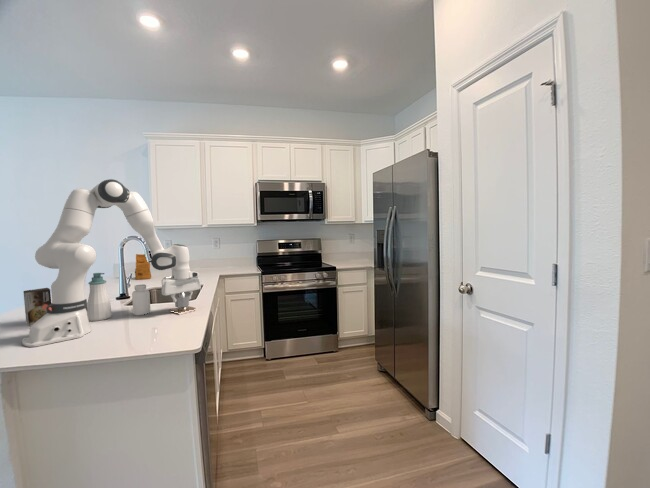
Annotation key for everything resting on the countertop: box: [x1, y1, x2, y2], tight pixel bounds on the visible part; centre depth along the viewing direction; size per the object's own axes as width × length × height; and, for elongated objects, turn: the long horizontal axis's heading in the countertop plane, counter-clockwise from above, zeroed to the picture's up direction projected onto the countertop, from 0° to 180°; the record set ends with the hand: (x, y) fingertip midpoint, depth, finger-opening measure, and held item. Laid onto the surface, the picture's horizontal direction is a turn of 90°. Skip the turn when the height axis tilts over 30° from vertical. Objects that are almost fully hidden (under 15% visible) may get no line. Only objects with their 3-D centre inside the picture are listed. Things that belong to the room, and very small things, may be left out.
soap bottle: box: [87, 272, 112, 322], centre depth 158 cm, size 10×10×23 cm
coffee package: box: [134, 253, 152, 281], centre depth 280 cm, size 10×12×22 cm
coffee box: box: [23, 287, 52, 327], centre depth 153 cm, size 9×6×16 cm
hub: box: [174, 294, 190, 308], centre depth 169 cm, size 6×6×5 cm
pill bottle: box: [131, 284, 151, 316], centre depth 166 cm, size 8×8×15 cm
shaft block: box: [169, 292, 196, 313], centre depth 169 cm, size 9×9×10 cm
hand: (182, 300), depth 169 cm, fingers closed on hub, 6 cm apart
